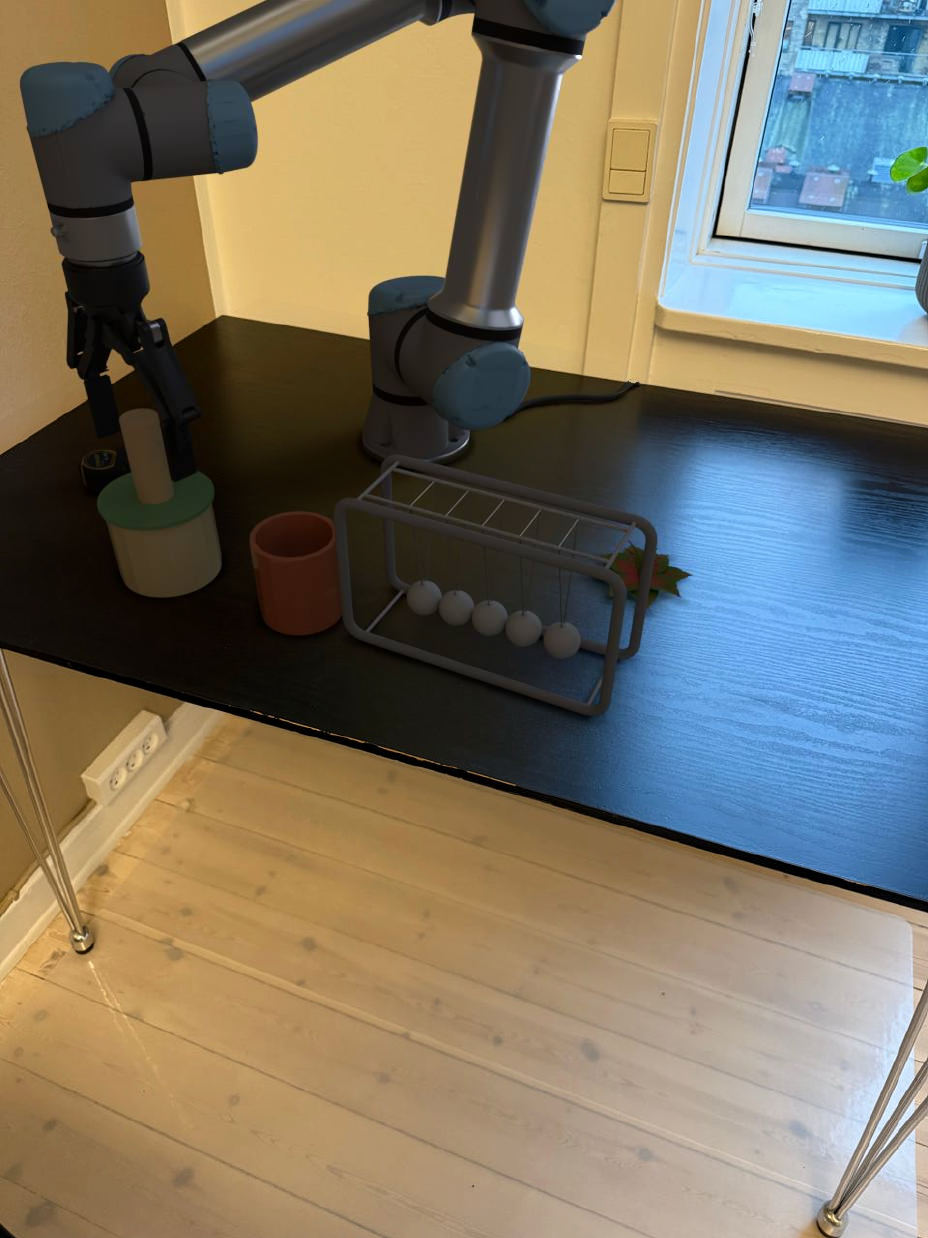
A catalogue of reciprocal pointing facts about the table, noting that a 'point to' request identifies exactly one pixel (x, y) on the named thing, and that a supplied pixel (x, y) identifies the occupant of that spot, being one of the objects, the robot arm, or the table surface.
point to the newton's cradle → (491, 614)
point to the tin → (169, 556)
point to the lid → (151, 482)
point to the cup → (296, 572)
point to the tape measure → (103, 467)
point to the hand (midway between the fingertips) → (145, 454)
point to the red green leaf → (630, 570)
